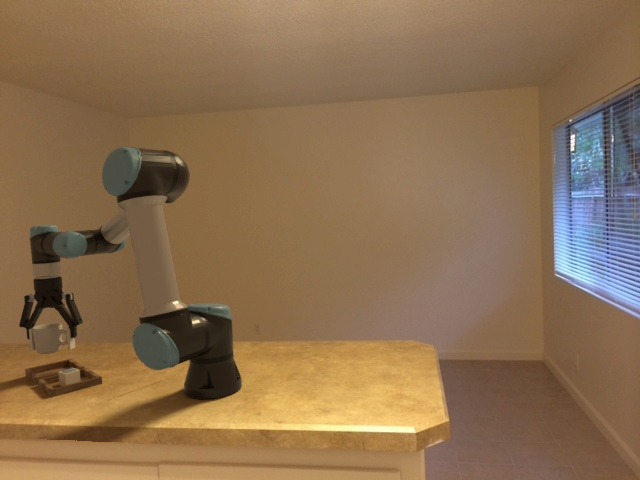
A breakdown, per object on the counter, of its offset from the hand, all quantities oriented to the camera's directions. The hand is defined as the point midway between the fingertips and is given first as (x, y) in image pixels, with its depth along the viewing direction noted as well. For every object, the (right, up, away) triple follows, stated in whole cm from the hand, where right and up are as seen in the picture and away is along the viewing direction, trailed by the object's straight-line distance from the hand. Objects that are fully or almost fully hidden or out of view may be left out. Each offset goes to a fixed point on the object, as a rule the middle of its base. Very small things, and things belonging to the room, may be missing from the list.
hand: (53, 349), depth 149 cm
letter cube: (+10, -8, -10) cm, 16 cm away
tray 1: (0, -8, +1) cm, 8 cm away
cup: (0, -1, 0) cm, 1 cm away
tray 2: (+10, -9, -10) cm, 16 cm away
